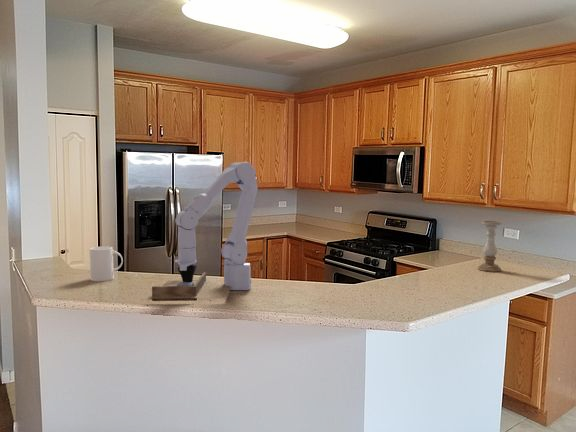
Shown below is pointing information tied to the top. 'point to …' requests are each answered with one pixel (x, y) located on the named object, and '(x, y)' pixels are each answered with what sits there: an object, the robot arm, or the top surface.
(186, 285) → the block
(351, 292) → the top surface
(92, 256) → the mug
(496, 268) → the candle holder
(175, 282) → the board
